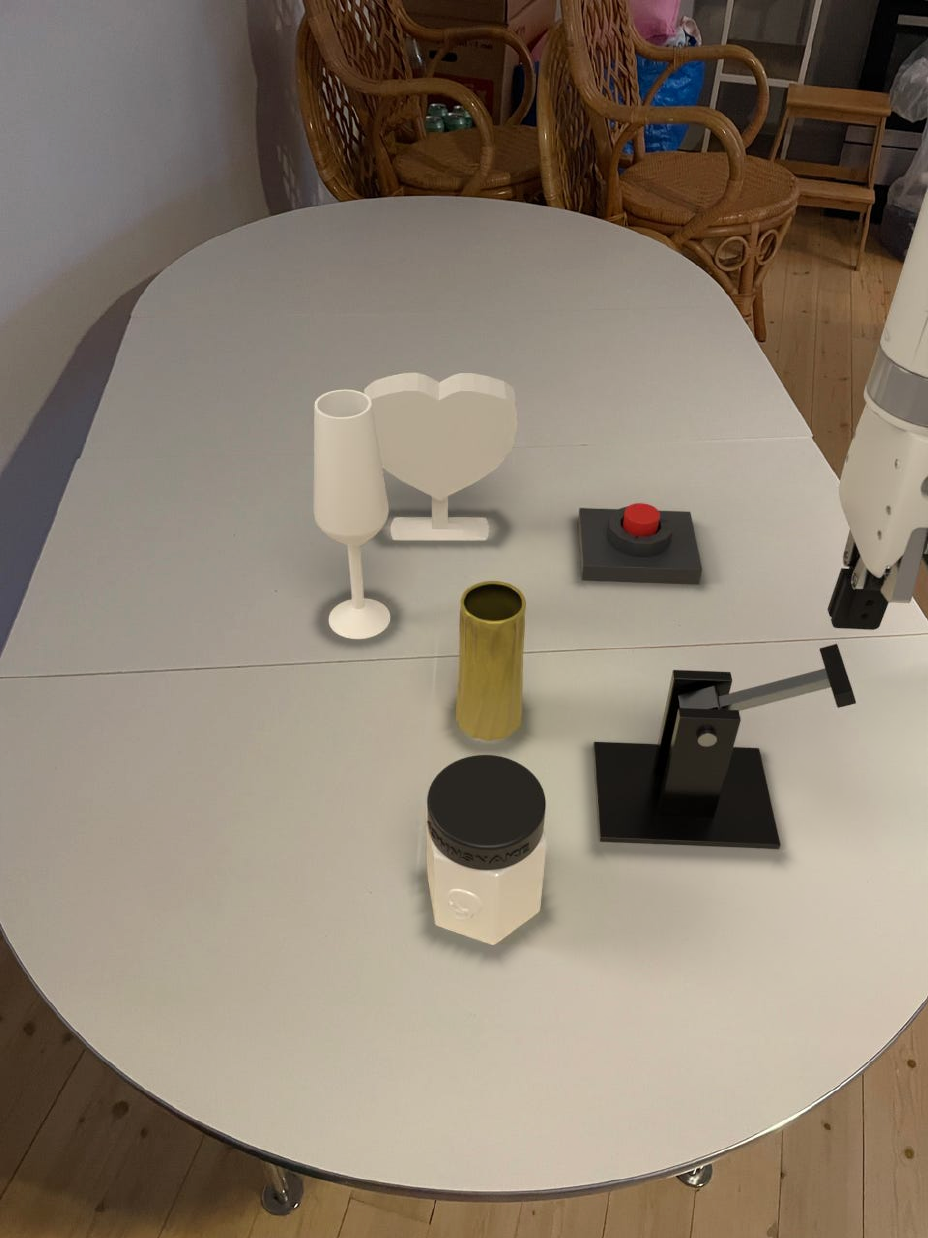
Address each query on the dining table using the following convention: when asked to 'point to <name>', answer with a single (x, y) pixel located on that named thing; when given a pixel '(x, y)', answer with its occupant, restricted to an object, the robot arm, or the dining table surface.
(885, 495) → the robot arm
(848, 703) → the lever
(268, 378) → the dining table surface
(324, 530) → the champagne flute
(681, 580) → the switch block
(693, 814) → the bracket
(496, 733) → the vase
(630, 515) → the button
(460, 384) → the heart sculpture
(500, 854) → the jar
